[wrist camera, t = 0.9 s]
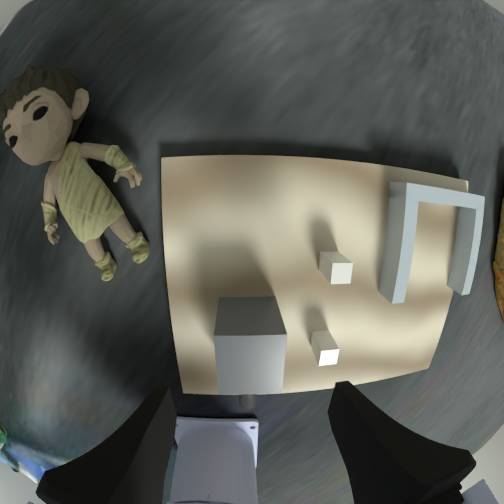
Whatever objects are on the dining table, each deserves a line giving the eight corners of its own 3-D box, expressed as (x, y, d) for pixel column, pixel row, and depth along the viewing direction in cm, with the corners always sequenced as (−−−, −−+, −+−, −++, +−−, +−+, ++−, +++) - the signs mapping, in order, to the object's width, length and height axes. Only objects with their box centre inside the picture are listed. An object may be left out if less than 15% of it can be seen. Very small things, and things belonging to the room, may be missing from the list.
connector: (270, 389, 19) (277, 433, 15) (223, 390, 19) (221, 434, 15) (276, 296, 17) (288, 334, 13) (218, 297, 17) (212, 335, 13)
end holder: (454, 285, 18) (469, 294, 16) (378, 292, 17) (391, 303, 16) (467, 194, 16) (484, 196, 14) (389, 181, 16) (406, 182, 14)
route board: (423, 362, 21) (428, 368, 20) (185, 385, 20) (183, 393, 19) (460, 180, 17) (468, 181, 16) (165, 158, 16) (161, 157, 15)
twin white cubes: (326, 344, 18) (336, 363, 16) (310, 345, 18) (318, 365, 16) (338, 251, 17) (352, 262, 14) (320, 251, 16) (332, 263, 14)
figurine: (72, 317, 14) (-35, 121, 7) (102, 267, 20) (18, 115, 13) (171, 264, 13) (48, 26, 7) (183, 221, 19) (92, 49, 12)
